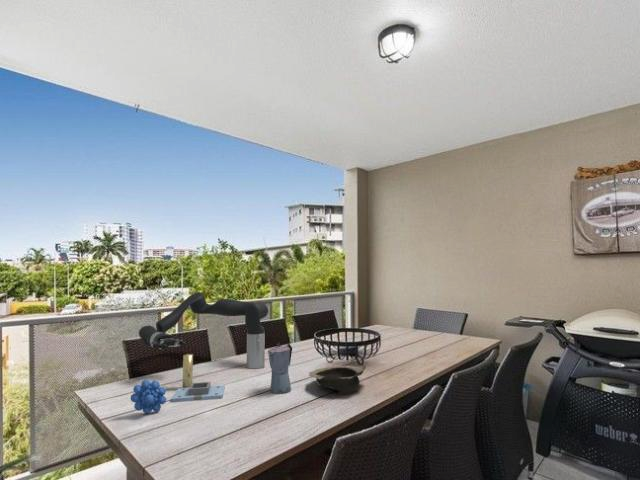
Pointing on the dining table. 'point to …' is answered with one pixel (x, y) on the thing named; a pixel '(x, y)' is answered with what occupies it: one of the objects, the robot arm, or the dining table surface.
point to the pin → (187, 370)
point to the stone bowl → (339, 378)
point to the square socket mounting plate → (199, 392)
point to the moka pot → (280, 368)
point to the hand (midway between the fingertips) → (175, 346)
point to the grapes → (148, 396)
